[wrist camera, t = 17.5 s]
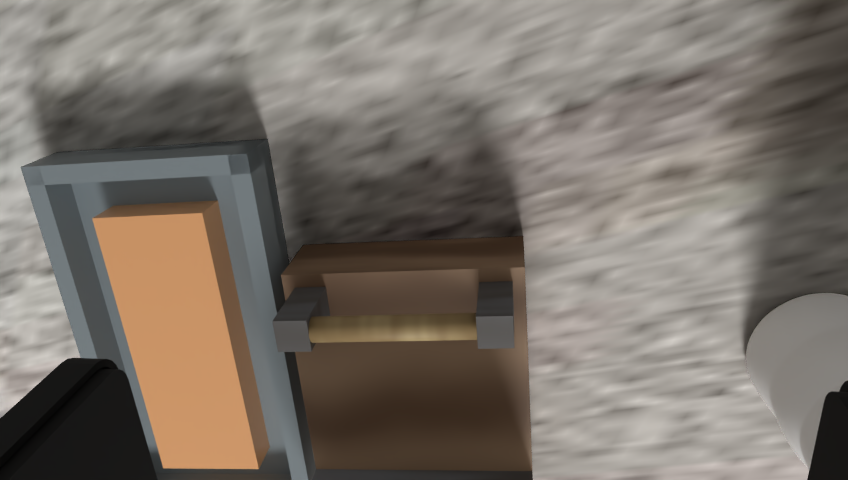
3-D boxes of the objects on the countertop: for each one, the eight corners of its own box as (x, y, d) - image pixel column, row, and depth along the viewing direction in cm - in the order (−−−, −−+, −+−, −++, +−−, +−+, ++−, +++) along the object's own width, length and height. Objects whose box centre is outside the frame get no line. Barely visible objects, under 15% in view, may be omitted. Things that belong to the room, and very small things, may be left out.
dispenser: (303, 244, 37) (194, 391, 24) (523, 236, 35) (531, 389, 23) (341, 476, 43) (270, 694, 30) (531, 478, 41) (542, 710, 28)
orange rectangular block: (113, 205, 36) (92, 218, 35) (217, 200, 36) (201, 212, 34) (178, 446, 42) (163, 468, 40) (269, 446, 41) (258, 469, 40)
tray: (57, 152, 37) (20, 166, 34) (267, 139, 35) (246, 153, 32) (151, 474, 45) (128, 507, 42) (326, 476, 43) (314, 511, 40)
